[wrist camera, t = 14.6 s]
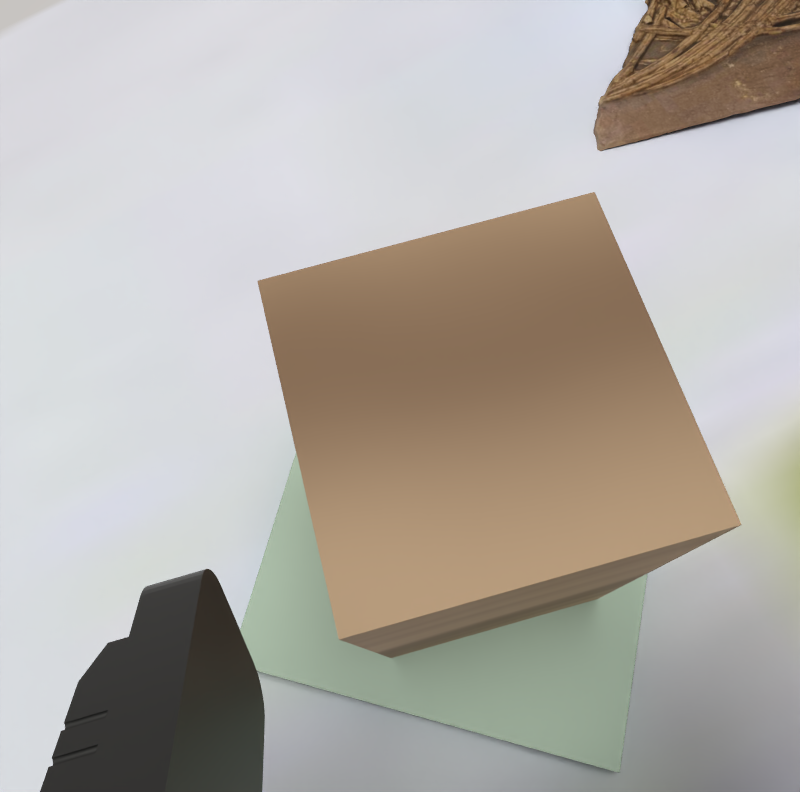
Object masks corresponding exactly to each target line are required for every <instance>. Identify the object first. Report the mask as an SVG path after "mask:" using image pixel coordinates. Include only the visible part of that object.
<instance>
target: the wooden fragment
mask: <svg viewBox="0 0 800 792" xmlns="http://www.w3.org/2000/svg"><path fill="white" fill-rule="evenodd" d="M645 3H646V4H647V5H648V11H647V12H646V13H645V14H644V16H643V17H642V18H641V20H640V22H639V24H638V26H637V27H636V28H635V33H634V34H633V40H632V43H631V45H630V50H629V53H628V56H627V58H626V59H625V61H624V64H623V69H622V70H621V71H620V72H619V73H618V74H617V75H616V76H615V77H614V78H613V80H612V81H611V83H610V84H609V86H608V88H607V91H606V93H605V95H604V96H601V98H600V101H599V108H598V113H597V119H596V121H595V127H594V135H595V137H596V141H597V149H598V150H600V151H602V150H605V149H608V148H612V147H616V146H620V145H624V144H627V143H633V142H637V141H640V140H644V139H648V138H651V137H655V136H659V135H662V134H664V133H670V132H672V131H676V130H680V129H684V128H686V127H690V126H693V125H698V124H702V123H706V122H711V121H715V120H718V119H722V118H725V117H728V116H731V115H734V114H739V113H745V112H749V111H752V110H755V109H759V108H763V107H767V106H772V105H776V104H780V103H784V102H788V101H793V100H796V99H799V98H800V0H646V1H645Z"/></svg>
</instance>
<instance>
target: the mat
mask: <svg viewBox="0 0 800 792" xmlns="http://www.w3.org/2000/svg"><path fill="white" fill-rule="evenodd" d="M646 580H647V574H645V575H643V576H641V577H639V578H637V579H635V580H634V581H632V582H630V583H628V584H626V585H624V586H622V587H620V588H618V589H616V590H614V591H612V592H610V593H608V594H606V595H604V596H603V597H601V598H599V599H596V600H592V601H589V602H585V603H582V604H578V605H575V606H571V607H568V608H564V609H561V610H558V611H554V612H551V613H547V614H544V615H540V616H537V617H533V618H530V619H526V620H523V621H519V622H516V623H512V624H509V625H505V626H502V627H498V628H495V629H491V630H488V631H484V632H481V633H477V634H474V635H470V636H467V637H463V638H460V639H456V640H453V641H449V642H446V643H442V644H439V645H436V646H432V647H429V648H425V649H422V650H418V651H415V652H411V653H408V654H404V655H401V656H397V657H394V658H389V657H386V656H384V655H381V654H378V653H375V652H372V651H370V650H367V649H364V648H361V647H358V646H356V645H353V644H350V643H347V642H344V641H342V640H339V638H338V634H337V630H336V625H335V621H334V616H333V612H332V608H331V603H330V599H329V594H328V590H327V585H326V581H325V577H324V572H323V568H322V563H321V559H320V555H319V550H318V546H317V541H316V537H315V532H314V528H313V524H312V519H311V515H310V510H309V506H308V502H307V497H306V493H305V488H304V484H303V479H302V475H301V471H300V466H299V462H298V457H297V453H296V454H295V458H294V461H293V464H292V467H291V470H290V474H289V477H288V480H287V483H286V486H285V489H284V493H283V496H282V499H281V502H280V505H279V509H278V512H277V515H276V518H275V521H274V524H273V528H272V531H271V534H270V537H269V540H268V544H267V547H266V550H265V553H264V556H263V559H262V563H261V566H260V569H259V572H258V575H257V578H256V582H255V585H254V588H253V591H252V594H251V598H250V601H249V604H248V607H247V610H246V613H245V617H244V620H243V623H242V626H241V629H240V632H241V634H242V636H243V639H244V641H245V643H246V646H247V648H248V650H249V653H250V655H251V657H252V660H253V662H254V665H255V667H256V670H257V671H259V672H262V673H266V674H269V675H273V676H277V677H280V678H284V679H287V680H291V681H294V682H298V683H301V684H305V685H309V686H312V687H316V688H319V689H323V690H326V691H330V692H333V693H337V694H341V695H344V696H348V697H351V698H355V699H358V700H362V701H365V702H369V703H373V704H376V705H380V706H383V707H387V708H390V709H394V710H397V711H401V712H405V713H408V714H412V715H415V716H419V717H422V718H426V719H429V720H433V721H437V722H440V723H444V724H447V725H451V726H454V727H458V728H461V729H465V730H469V731H472V732H476V733H479V734H483V735H486V736H490V737H493V738H497V739H501V740H504V741H508V742H511V743H515V744H518V745H522V746H525V747H529V748H533V749H536V750H540V751H543V752H547V753H550V754H554V755H557V756H561V757H565V758H568V759H572V760H575V761H579V762H582V763H586V764H589V765H593V766H597V767H600V768H604V769H607V770H611V771H614V772H618V773H620V767H621V759H622V752H623V745H624V738H625V731H626V724H627V716H628V709H629V702H630V695H631V688H632V680H633V673H634V666H635V659H636V652H637V644H638V637H639V630H640V623H641V616H642V609H643V601H644V594H645V587H646Z"/></svg>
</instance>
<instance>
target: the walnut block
mask: <svg viewBox="0 0 800 792" xmlns="http://www.w3.org/2000/svg"><path fill="white" fill-rule="evenodd" d="M258 285H259V290H260V294H261V298H262V303H263V307H264V312H265V316H266V321H267V325H268V329H269V334H270V338H271V343H272V347H273V351H274V356H275V360H276V365H277V369H278V374H279V378H280V382H281V387H282V391H283V396H284V400H285V404H286V409H287V413H288V418H289V422H290V426H291V431H292V435H293V440H294V444H295V449H296V453H297V457H298V462H299V466H300V471H301V475H302V479H303V484H304V488H305V493H306V497H307V502H308V506H309V510H310V515H311V519H312V524H313V528H314V532H315V537H316V541H317V546H318V550H319V555H320V559H321V563H322V568H323V572H324V577H325V581H326V585H327V590H328V594H329V599H330V603H331V608H332V612H333V616H334V621H335V625H336V630H337V634H338V638H339V640H342V641H344V642H347V643H350V644H353V645H356V646H358V647H361V648H364V649H367V650H370V651H372V652H375V653H378V654H381V655H384V656H386V657H389V658H394V657H397V656H401V655H404V654H408V653H411V652H415V651H418V650H422V649H425V648H429V647H432V646H436V645H439V644H442V643H446V642H449V641H453V640H456V639H460V638H463V637H467V636H470V635H474V634H477V633H481V632H484V631H488V630H491V629H495V628H498V627H502V626H505V625H509V624H512V623H516V622H519V621H523V620H526V619H530V618H533V617H537V616H540V615H544V614H547V613H551V612H554V611H558V610H561V609H564V608H568V607H571V606H575V605H578V604H582V603H585V602H589V601H592V600H596V599H599V598H601V597H603V596H604V595H606V594H608V593H610V592H612V591H614V590H616V589H618V588H620V587H622V586H624V585H626V584H628V583H630V582H632V581H634V580H635V579H637V578H639V577H641V576H643V575H645V574H647V573H649V572H651V571H653V570H655V569H657V568H659V567H661V566H663V565H664V564H666V563H668V562H670V561H672V560H674V559H676V558H678V557H680V556H682V555H684V554H686V553H688V552H690V551H692V550H694V549H695V548H697V547H699V546H701V545H703V544H705V543H707V542H709V541H711V540H713V539H715V538H717V537H719V536H721V535H723V534H724V533H726V532H728V531H730V530H732V529H734V528H736V527H738V526H740V525H741V523H740V521H739V518H738V516H737V514H736V511H735V509H734V507H733V505H732V502H731V500H730V498H729V496H728V493H727V491H726V489H725V487H724V484H723V482H722V480H721V477H720V475H719V473H718V471H717V468H716V466H715V464H714V462H713V459H712V457H711V455H710V453H709V450H708V448H707V446H706V443H705V441H704V439H703V437H702V434H701V432H700V430H699V428H698V425H697V423H696V421H695V419H694V416H693V414H692V412H691V409H690V407H689V405H688V403H687V400H686V398H685V396H684V394H683V391H682V389H681V387H680V385H679V382H678V380H677V378H676V376H675V373H674V371H673V369H672V366H671V364H670V362H669V360H668V357H667V355H666V353H665V351H664V348H663V346H662V344H661V342H660V339H659V337H658V335H657V332H656V330H655V328H654V326H653V323H652V321H651V319H650V317H649V314H648V312H647V310H646V308H645V305H644V303H643V301H642V298H641V296H640V294H639V292H638V289H637V287H636V285H635V283H634V280H633V278H632V276H631V274H630V271H629V269H628V267H627V264H626V262H625V260H624V258H623V255H622V253H621V251H620V249H619V246H618V244H617V242H616V240H615V237H614V235H613V233H612V230H611V228H610V226H609V224H608V221H607V219H606V217H605V215H604V212H603V210H602V208H601V206H600V203H599V201H598V199H597V196H596V194H595V192H593V193H589V194H585V195H581V196H578V197H574V198H570V199H566V200H563V201H559V202H555V203H551V204H547V205H544V206H540V207H536V208H532V209H528V210H525V211H521V212H517V213H513V214H509V215H506V216H502V217H498V218H494V219H490V220H487V221H483V222H479V223H475V224H471V225H468V226H464V227H460V228H456V229H452V230H449V231H445V232H441V233H437V234H434V235H430V236H426V237H422V238H418V239H415V240H411V241H407V242H403V243H399V244H396V245H392V246H388V247H384V248H380V249H377V250H373V251H369V252H365V253H361V254H358V255H354V256H350V257H346V258H342V259H339V260H335V261H331V262H327V263H323V264H320V265H316V266H312V267H308V268H304V269H301V270H297V271H293V272H289V273H286V274H282V275H278V276H274V277H270V278H267V279H263V280H259V281H258Z"/></svg>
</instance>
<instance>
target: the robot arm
mask: <svg viewBox="0 0 800 792" xmlns="http://www.w3.org/2000/svg"><path fill="white" fill-rule="evenodd" d="M264 722H265V714H264V702H263V695H262V690H261V685H260V681H259V677H258V673H257V670H256V667H255V665H254V662H253V660H252V657H251V655H250V653H249V650H248V648H247V646H246V643H245V641H244V639H243V636H242V634H241V632H240V629H239V627H238V625H237V622H236V620H235V618H234V615H233V613H232V611H231V608H230V606H229V604H228V601H227V599H226V597H225V594H224V592H223V590H222V587H221V585H220V583H219V581H218V579H217V577H216V576H215V574H214V573H213V572H212V571H211V570H209V569H205V570H202V571H198V572H195V573H191V574H188V575H184V576H181V577H178V578H174V579H171V580H167V581H164V582H160V583H157V584H153V585H150V586H147V587H145V588H144V589H143V591H142V593H141V596H140V600H139V603H138V607H137V610H136V614H135V617H134V621H133V624H132V628H131V631H130V635H129V637H127V638H123V639H120V640H116V641H113V642H109V643H108V644H107V645H106V646H105V648H104V649H103V650H102V652H101V653H100V654H99V655H98V657H97V658H96V659H95V661H94V662H93V663H92V665H91V666H90V667H89V669H88V670H87V671H86V673H85V674H84V675H83V676H82V678H81V679H80V680H79V682H78V684H77V687H76V690H75V693H74V696H73V699H72V702H71V704H70V707H69V710H68V713H67V716H66V719H65V722H64V723H65V730H63V731H61V733H60V736H59V739H58V742H57V745H56V748H55V750H54V753H53V756H52V759H53V766H51V767H49V768H48V770H47V773H46V776H45V779H44V782H43V785H42V788H41V791H40V792H262V780H263V751H264Z"/></svg>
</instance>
